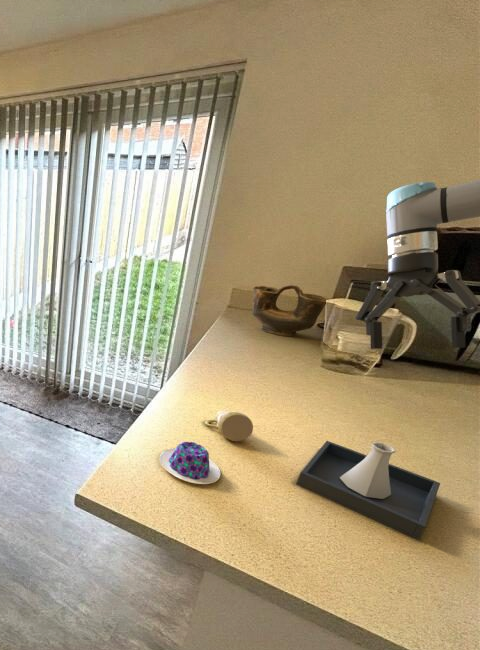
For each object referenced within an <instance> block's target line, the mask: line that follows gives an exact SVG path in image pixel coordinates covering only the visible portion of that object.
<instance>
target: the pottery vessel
mask: <svg viewBox="0 0 480 650" xmlns="http://www.w3.org/2000/svg"><path fill="white" fill-rule="evenodd" d="M287 290H294V291H295V293H296V295H297V304H296V308H295V309H293V310H284V309H281V308H279V307H278V306H277V301H278V298H279V297H280V295H281V294H282V293H283V292H285V291H287ZM252 291H253V293H254V298H253V307H252V312H251V314H252V316H253V318H254V319H255V320H256V321H258V322H259V323H260V324H261V325H262V327H261V330H262V331H264V332H265V333H267V334H270V335H275V336H281V337H290V338H291V337H294V336H295V335H297V332H301V331H304V330H305V331H306V330H308V329H312V328H313V327H314V325H315V324H316V323H317V320H318V318H319V316H320V314H321V313H322V312H323V310H324V308H325V307H326V305H327V304H326V300H329V299H328V298H326V297H325V296H322V295H318V294H315V293H313V294H312V293H304V292H303V290H302V289H301V288H300V286H298V285H294V284H290V285H285V286H282V287H280V288H276V287H273V286H272V287H271V286H265V285H259V286H254V287H253V288H252Z"/></svg>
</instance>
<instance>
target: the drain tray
mask: <svg viewBox="0 0 480 650" xmlns="http://www.w3.org/2000/svg"><path fill="white" fill-rule="evenodd" d="M367 455H368V454H364V453H361V452H359V451H356V450H354V449H351V448H348V447H346V446H343V445H341V444H337V443H334V442H333V441H332V442H331V441H329V440H326V441H325V442H324V443H323V444H322V446H321V447H320V448H319V449H318V451H316V453H315V454H314V455H313V457H312V458H311V459H310V460H309V461H308V462H307V464H306V465H305V466H304V467H303V469H302V470H301V471H300V473H299V475H298V478H297V480H296V483H295V485H296V486H299V487H300V488H303V489H305V490H307V491H309V492H312V493H314V494H316V495H318V496H320V497H321V498H324V499H326V500H329V501H331V502H333V503H334V504H338V505H339V506H342V507H344V508H346V509H349V510H350V511H352V512H355V513H357V514H359V515H361V516H364V517H366V518H368V519H369V520H372V521H374V522H376V523H379V524H381V525H383V526H385V527H387V528H389V529H392V530H394V531H396V532H398V533H401V534H403V535H405V536H407V537H409V538H411V539H414V540H416V541H418V540H419V538H420V536H421V535H422V533H423V532H424V530H425V529H426V525H427V523H428V520H429V517H430V515H431V512H432V509H433V506H434V503H435V500H436V498H437V494H438V491H439V488H440V486H441V482H439V481H437V480H434V479H432V478H429V477H426V476H423V475H420V474H417V473H415V472H413V471H410V470H408V469H404V468H402V467H399V466H397V465H393V464H392V463H389V465H388V470H389V481H390V488H391V495H390V496H388V497H386V498H384V499H379V498H372V497H365V496H363V495H362V494H360V493H358V492H356V491H354V490H352V489H351V488H349V487H347V485H346V484H345V483H344V482H343V481H342V480H341V479H340V477H341V476H342V475H344V474H345V473H346V472H348V471H349V470H351V469H352V468H353V467H355V466H356V465H357V464H359V463H360V462H361V461H362V460H364V459H365V457H366V456H367Z"/></svg>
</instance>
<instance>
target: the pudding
mask: <svg viewBox="0 0 480 650" xmlns="http://www.w3.org/2000/svg"><path fill="white" fill-rule="evenodd" d="M209 455H210V454H209V451H208V450H207V449H206V448H205V447H204V446H203V445H202V444H197V443H196V442H194V441H182V442H181V443H179V444H178V445H176V448H173V447H172V448H168V449H166V450H164V451H162V452H161V454H160V455H159V463H160V464H161V466H162V467H163V468H164V469H165V471H167V472H168V473H169V474H171V476H174V477H176V478H177V479H179V480H182V481H185V482H187V483H191V484H197V485H209V484H214V483H215V482H217V481H218V480H219V479H220V478H221V470H220V468H219V466H218V465H217V464H216V463H215V462H214V461H213V460H212V459H211V458H210V456H209Z"/></svg>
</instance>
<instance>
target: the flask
mask: <svg viewBox="0 0 480 650" xmlns="http://www.w3.org/2000/svg"><path fill="white" fill-rule="evenodd" d="M370 446H371V449H370V451H369V453H368V454H366V455H367V456H366V457H365V459H364V460H362V461H361V462H360V463H359V464H357V465H356V466H355V467H353V468H352V469H351V470H349V471H348V472H346V473H345V474H344V475H342V476H341V477H340V479H341V480H342V481H343V482H344V483H345V484H346V485H347V487H349V488H351V489H352V490H354V491H356V492H358V493H360V494H362V495H363V496H365V497H372V498H379V499H384V498H386V497H388V496H390V495H391V488H390V481H389V470H388V465H389V464H390V458H392V454H395V453H396V452H397V450H396V449H395V448H394V447H393V446H391V445H388V444H387V443H384V442H377V441H374V442H372V443H371V444H370Z"/></svg>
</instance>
